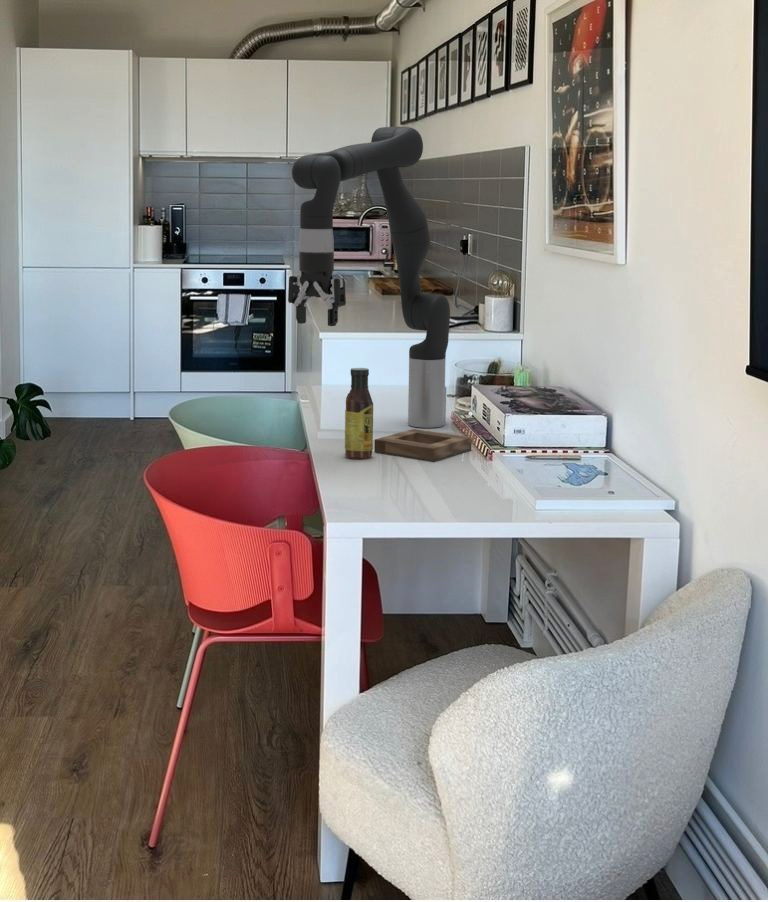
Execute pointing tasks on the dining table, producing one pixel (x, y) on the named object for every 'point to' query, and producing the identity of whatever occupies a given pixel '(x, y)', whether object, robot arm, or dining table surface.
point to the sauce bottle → (359, 417)
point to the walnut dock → (423, 445)
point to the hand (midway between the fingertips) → (316, 324)
